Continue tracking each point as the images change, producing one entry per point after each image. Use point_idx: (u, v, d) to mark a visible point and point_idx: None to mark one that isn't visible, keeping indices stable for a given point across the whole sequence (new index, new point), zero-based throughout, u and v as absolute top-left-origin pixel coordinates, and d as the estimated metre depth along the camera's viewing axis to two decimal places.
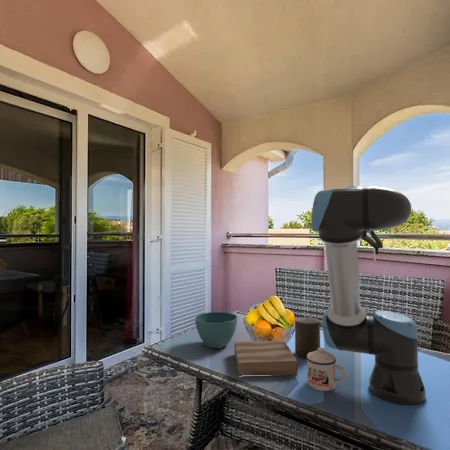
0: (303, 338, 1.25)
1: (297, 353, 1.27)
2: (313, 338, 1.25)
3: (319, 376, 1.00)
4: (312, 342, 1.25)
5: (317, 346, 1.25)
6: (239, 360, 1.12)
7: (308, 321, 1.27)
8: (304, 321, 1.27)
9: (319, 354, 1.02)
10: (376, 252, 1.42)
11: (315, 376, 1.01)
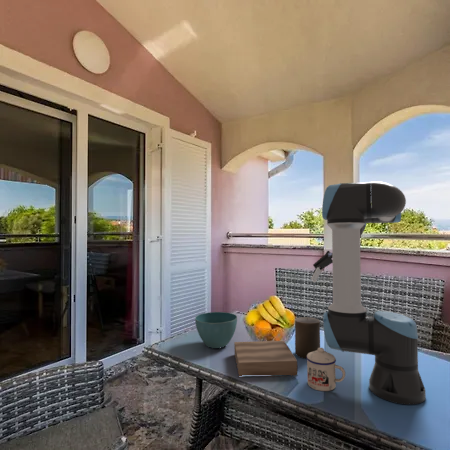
0: (303, 338, 1.25)
1: (297, 353, 1.27)
2: (314, 338, 1.25)
3: (319, 376, 1.00)
4: (312, 342, 1.25)
5: (317, 346, 1.25)
6: (239, 360, 1.12)
7: (308, 321, 1.27)
8: (304, 321, 1.27)
9: (319, 354, 1.02)
10: None
11: (315, 376, 1.01)
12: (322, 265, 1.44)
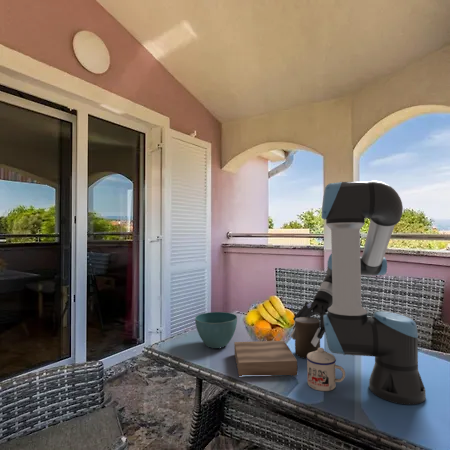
0: (303, 338, 1.25)
1: (297, 353, 1.27)
2: None
3: (319, 376, 1.00)
4: None
5: (317, 346, 1.25)
6: (239, 360, 1.12)
7: (308, 321, 1.27)
8: (304, 321, 1.27)
9: (319, 354, 1.02)
10: (319, 334, 1.24)
11: (315, 376, 1.01)
12: None
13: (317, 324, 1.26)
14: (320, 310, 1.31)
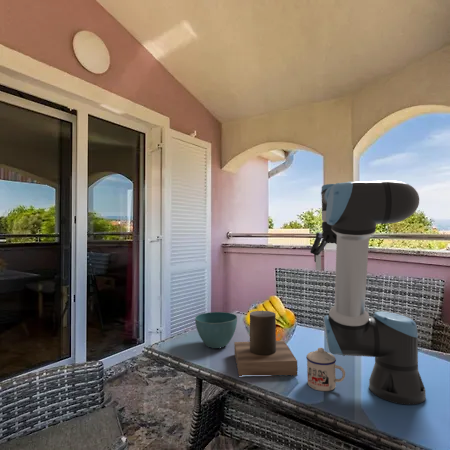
0: (256, 333, 1.17)
1: (251, 349, 1.19)
2: (268, 333, 1.16)
3: (319, 376, 1.00)
4: (266, 337, 1.16)
5: (272, 341, 1.17)
6: (239, 360, 1.12)
7: (262, 314, 1.19)
8: (258, 314, 1.19)
9: (319, 354, 1.02)
10: None
11: (315, 376, 1.01)
12: (319, 250, 1.42)
13: (272, 318, 1.17)
14: (334, 240, 1.34)
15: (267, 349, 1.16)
